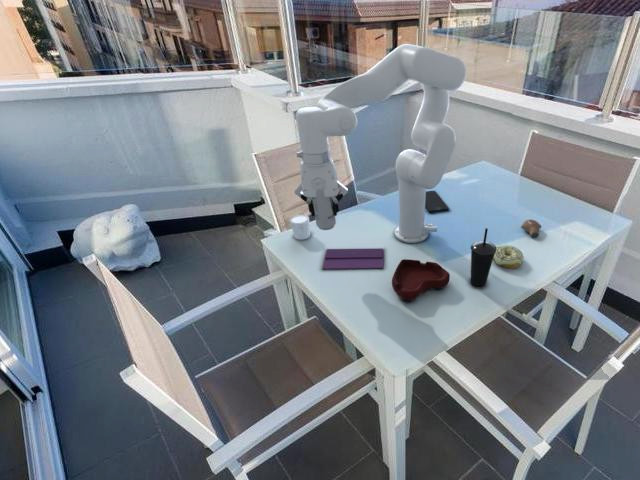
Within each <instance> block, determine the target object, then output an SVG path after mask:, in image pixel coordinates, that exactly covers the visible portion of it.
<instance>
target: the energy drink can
mask: <svg viewBox="0 0 640 480" xmlns="http://www.w3.org/2000/svg"><path fill="white" fill-rule="evenodd" d="M312 201H313V207H314V213H315V215H314V219H315V225H316V227H317V228H319V230H321V231H329V230H332V229H333V228H335V226H336V225H337V220H336V216H335V215H334V211H333V200H332V198H331V197H325V196H324V191H323V189H322V190H321V189H318V190H317V189H316V197H312Z"/></svg>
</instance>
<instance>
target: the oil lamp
mask: <svg viewBox="0 0 640 480" xmlns="http://www.w3.org/2000/svg"><path fill="white" fill-rule="evenodd" d="M520 228H521V229H523V231H525V232H527V233H529V236H530V237H532V238H536V237H539V233H538V231H539V230H540V229H541V228H542V225H541V224H540V223H539V221H537V220H535V219H530V218H529V219H526V220H525V221H523V223H522V224H521V226H520Z"/></svg>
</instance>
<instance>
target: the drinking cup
mask: <svg viewBox="0 0 640 480" xmlns="http://www.w3.org/2000/svg"><path fill="white" fill-rule="evenodd" d="M488 231H489V228H487V227H485V230H484V234H483V240H477V241H474V242H472V243H471V244H470V250H471V253H470V285H471V286H472V287H474V288H476V289H482V288H484V287H485V286H486V284H487V281H488V278H489V274H490V271H491V267H492V264H493V262H494V260H493V257H494V254H495V253H496V250H497V248H496V245H495V244H494V243H493V242H490V241H487V236H488Z"/></svg>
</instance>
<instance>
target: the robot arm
mask: <svg viewBox="0 0 640 480" xmlns="http://www.w3.org/2000/svg"><path fill="white" fill-rule="evenodd" d="M466 68H467V67H466V65H465V63H464V62H463V61H462V59H460V58H458V57H457V56H452V55H449V54H446V53H442V52H440V51H436V50H434V49H431V48H428V47H425V46H421V45H416V44H411V43H402V44H400V45H398V46H397V47H396V48H394V49H393V50H392V51H391V52H390V53H388V54H387V55H386V56H384V57H383V58H382V59H381V60H379V62H377V63H376V64H374V65H373V66H372V67H371V68H370V69H369V70H367V71H365V72H363V73H361V74H359V75H357V76H355V77H352V78H349V79H348V80H346V81H343V82H342V83H340V84H337V85H336V86H335V87H333V88H332V89H331V90H329V91H328V92H327V93H325V95H323V96H322V97H321V98H320V99H319V101H318V102H317V103H316V105H315V106H306V107H305V106H304V107H302V108H299V109H297V111H296V112H295V120H296V127H297V132H298V138H299V145H300V151H297V152H296V157H297V158H301V161H300V162H299V163H300V164H299V171H300V172H299V173H300V183H299V185H298V186H297V187H296V188H295V190H294V194H295V195H296V196H297V197H299V198H300V199H301V200H302V201H304V202H305V203H306V205H307V208H308V212H309V213H310V214H311V217H315V213H314V207H313V201H312V197H316V189H317V190H318V189H321V190H322V189H323V191H324V196H325V197H331V198H332V200H333V211H334V215H335V217H337V216H338V213H339V212H340V206H339V202H340V201H341V200H342V199H343V198H344V197H345V196H346V195H347V193H348V191H349V189H348V187H346V186H345V185H344V184H342V183H341V182H340V181H339V179H338V178H339V177H338V174H337V169H336V165H335V162H334V160H333V158H331V151H330V142H329V137H344V136H348V135H350V134H352V133H353V132H354V131H355V130H356V128H357V125H358V118H357V115H356V113H355V111H353V110H352V109H353V108H355V107H357V106H361V105H365V104H366V105H367V104H376V103H381V102H384V101H386V100H387V99H389V98H390V97H391V96H393V94H394V93H395V92H397V91H398V90H399V89H400V88H401V87H403V86H404V85H405V84H406V83H408V82H409V81H413V82H416V83H421V84H422V85H421V86H422V89H423V99H422V102H421V106H420V108H419V112H418V114H417V116H416V119H415V122H414V124H413V126H412V127H413V128H412V129H411V133H410V140H411V142H412V143H413V144H414V145H415V146H416V147H418V148H420V149H422V150H423V151H426V154H425V153H422V152H420V151H418V150H416V149H415V150H414V149H405V150H403V151H402V152H400V153H399V154H398V156H397V157H396V160H395V172H396V179H397V185H398V226H397V227H396V228H395V229H394V236H395V238H396V239H397V240H399V241H400V242H404V243H409V244H416V243H421V242H423V241H425V240H426V239H427V238H428V236H429V233H436V232H437V231H438V226H434V224H433V223H426V219H425V218H426V208H425V198H426V191H427V190H432V189H435V188H436V187H437V186H438V185H439V184H440V182H441V180H442V178H443V177H444V174H445V172H446V170H447V167H448V165H449V162H450V160H451V157H452V155H453V153H454V151H455V148H456V142H457V135H456V133H455V130H454V129H453V127H451V126H450V125H448V124H446V123H445V120H446V117H447V114H448V111H449V107H450V94H449V93H450V92H451V91H455V90H458V89H459V88H461V87H462V86H463V84H464V82H465V80H466V78H467V69H466ZM449 91H450V92H449ZM339 190H340V191H339Z"/></svg>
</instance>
